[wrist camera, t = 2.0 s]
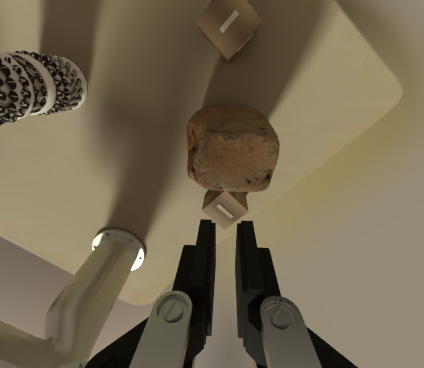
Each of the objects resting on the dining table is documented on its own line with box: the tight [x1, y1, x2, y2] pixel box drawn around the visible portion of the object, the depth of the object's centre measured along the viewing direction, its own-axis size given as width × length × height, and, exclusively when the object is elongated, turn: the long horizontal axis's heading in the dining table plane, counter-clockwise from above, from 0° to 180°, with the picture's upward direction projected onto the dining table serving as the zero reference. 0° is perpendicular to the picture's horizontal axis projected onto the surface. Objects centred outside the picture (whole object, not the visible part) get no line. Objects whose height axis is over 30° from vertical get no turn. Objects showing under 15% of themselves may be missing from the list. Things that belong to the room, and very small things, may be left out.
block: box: [187, 105, 280, 192], centre depth 30 cm, size 11×8×20 cm
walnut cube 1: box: [202, 190, 248, 229], centre depth 43 cm, size 6×6×6 cm
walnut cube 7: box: [196, 0, 263, 63], centre depth 30 cm, size 6×6×6 cm
